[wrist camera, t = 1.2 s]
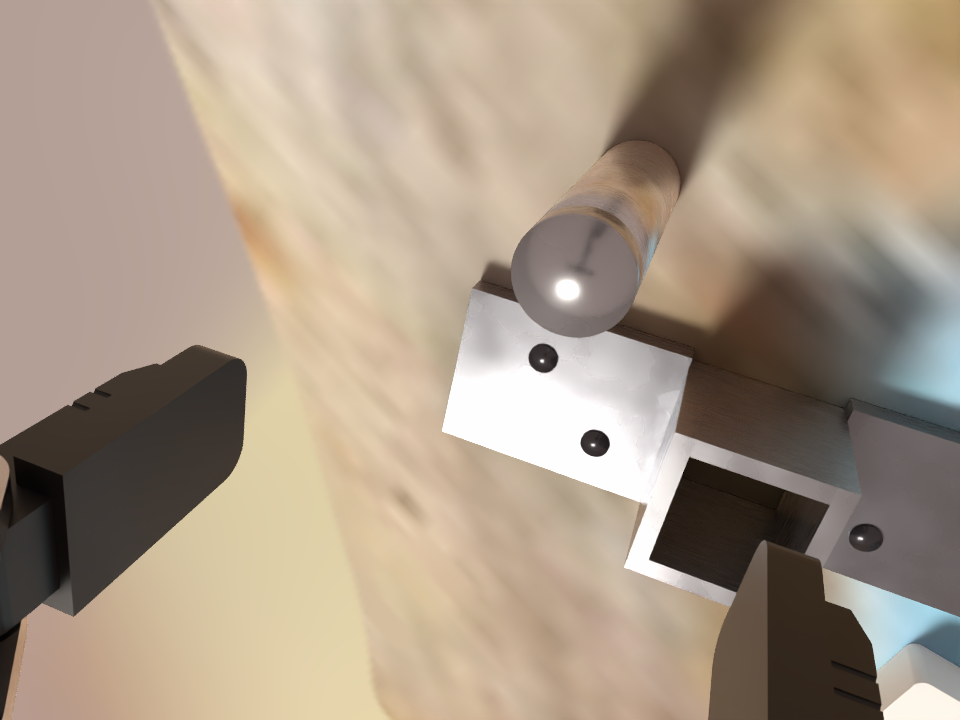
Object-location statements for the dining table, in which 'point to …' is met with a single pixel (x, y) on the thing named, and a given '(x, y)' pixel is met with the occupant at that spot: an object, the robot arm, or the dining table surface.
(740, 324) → the dining table surface
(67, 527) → the robot arm
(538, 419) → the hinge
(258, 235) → the dining table surface
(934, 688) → the holder
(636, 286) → the pin
